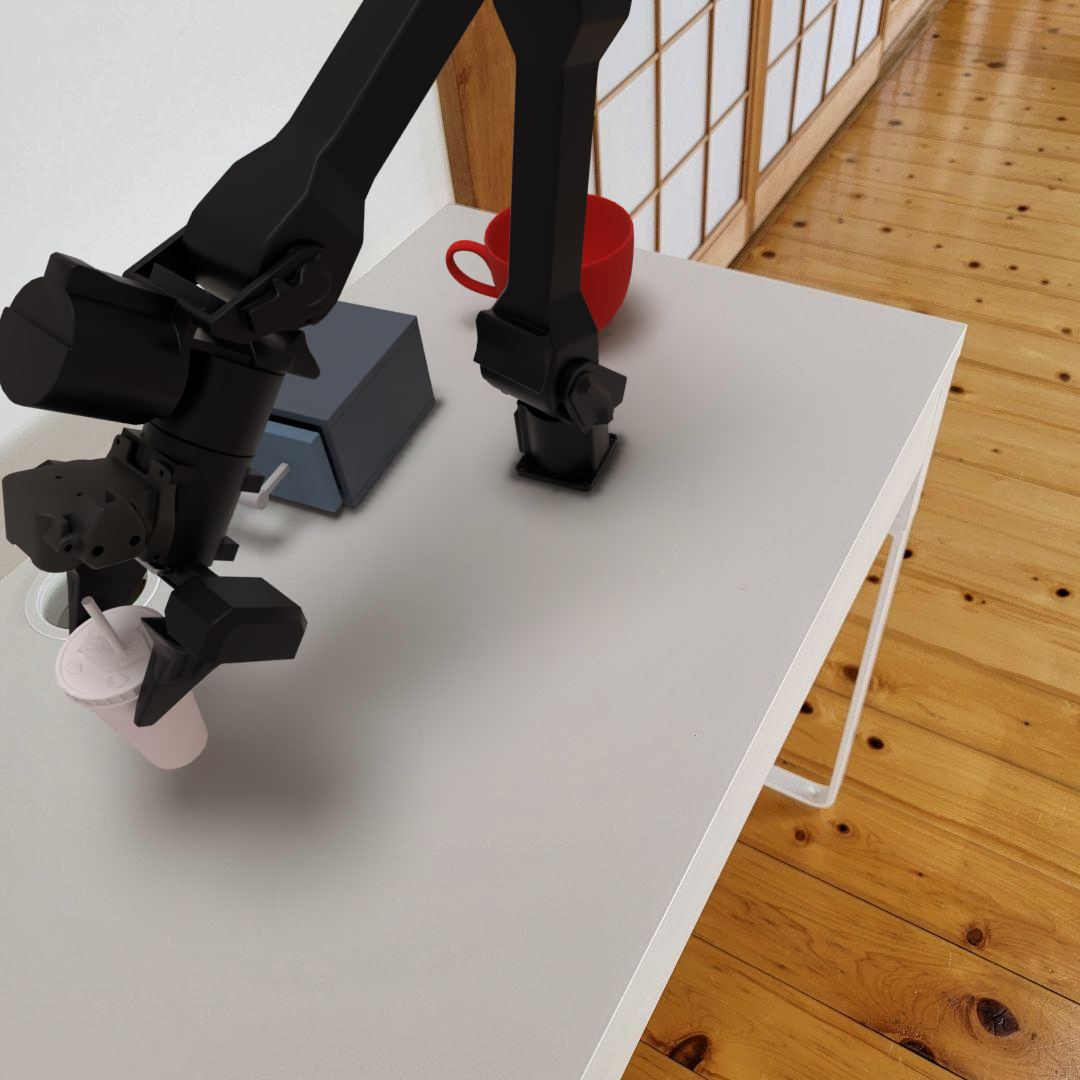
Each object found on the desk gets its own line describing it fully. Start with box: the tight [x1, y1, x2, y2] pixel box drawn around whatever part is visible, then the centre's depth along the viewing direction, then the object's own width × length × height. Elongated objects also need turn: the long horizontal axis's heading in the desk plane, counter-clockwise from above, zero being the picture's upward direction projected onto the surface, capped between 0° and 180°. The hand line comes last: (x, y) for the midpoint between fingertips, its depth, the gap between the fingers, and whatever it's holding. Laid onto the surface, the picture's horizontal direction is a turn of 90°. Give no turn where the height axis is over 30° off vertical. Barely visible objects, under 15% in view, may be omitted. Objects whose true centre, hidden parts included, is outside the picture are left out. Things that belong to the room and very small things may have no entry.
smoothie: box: [54, 597, 209, 770], centre depth 56 cm, size 6×6×14 cm
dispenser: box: [271, 300, 436, 509], centre depth 82 cm, size 14×13×9 cm
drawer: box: [237, 414, 342, 513], centre depth 79 cm, size 17×11×7 cm
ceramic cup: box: [444, 193, 635, 335], centre depth 90 cm, size 13×17×10 cm
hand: (109, 692), depth 55 cm, fingers closed on smoothie, 6 cm apart
